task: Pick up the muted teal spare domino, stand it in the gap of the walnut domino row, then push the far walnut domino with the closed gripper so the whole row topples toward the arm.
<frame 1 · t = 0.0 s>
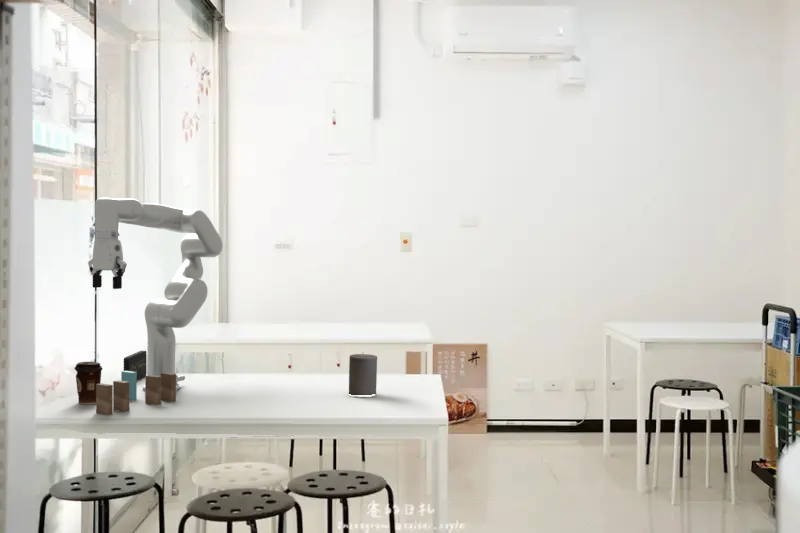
hand: (107, 288, 293), 37 cm above the table, tool pointing down, fingers open, 9 cm apart
domino far: (104, 413, 271), on the table
pillar candle: (362, 395, 308), on the table
spare domino: (128, 398, 296), on the table
domino 4: (153, 403, 288), on the table
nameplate: (135, 381, 332), on the table
coffee cup: (88, 403, 288), on the table
domino end: (168, 400, 293), on the table
domino 2: (121, 410, 277), on the table
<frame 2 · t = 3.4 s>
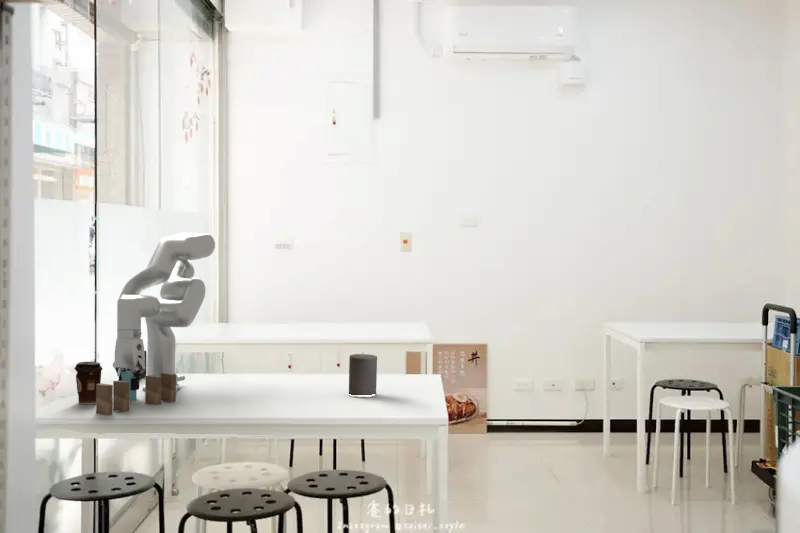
hand: (128, 388, 296), 3 cm above the table, tool pointing down, fingers closed on spare domino, 4 cm apart
spare domino: (128, 398, 296), on the table, touching gripper
everything else where it was.
when the fingers open (4 cm above the table, at t = 10.2 s): spare domino stays where it is, on the table.
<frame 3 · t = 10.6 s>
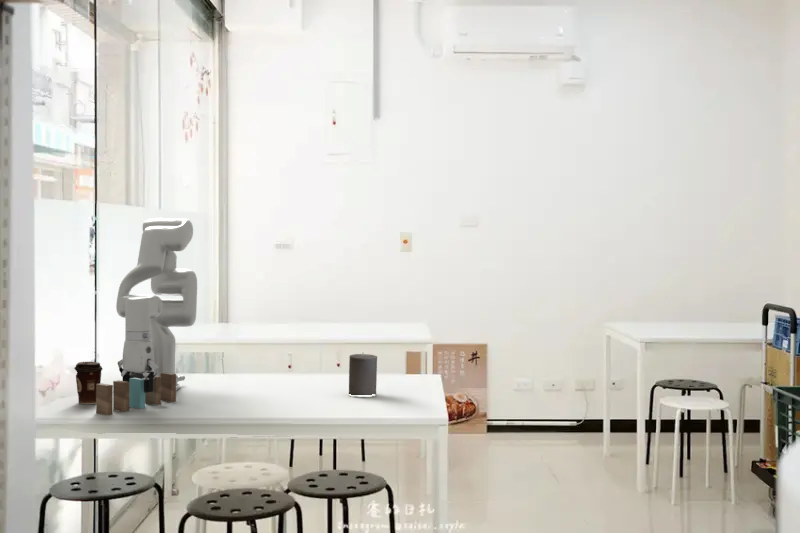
hand: (137, 390, 282), 5 cm above the table, tool pointing down, fingers open, 9 cm apart
spare domino: (137, 407, 282), on the table
everything else where it was.
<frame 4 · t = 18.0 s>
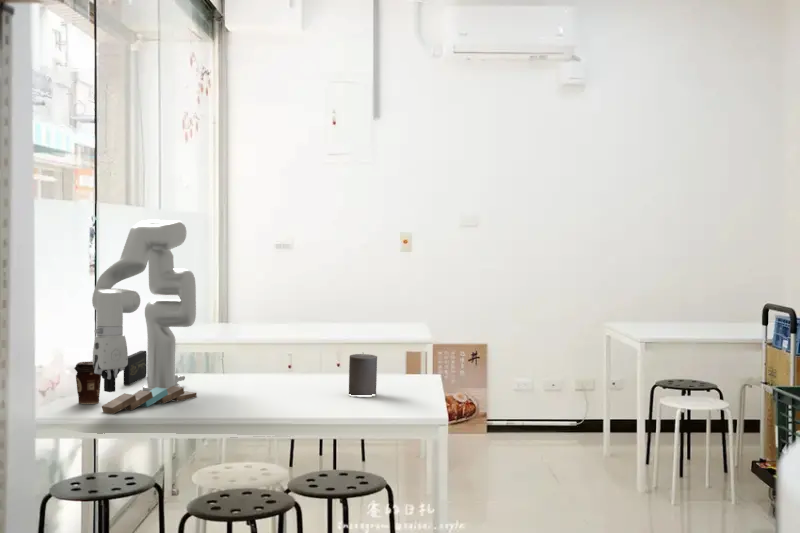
hand: (109, 391, 273), 7 cm above the table, tool pointing down, fingers closed
domino far: (107, 409, 272), point 1 cm above the table, tilted 73°, touching domino 2
spare domino: (141, 403, 284), point 1 cm above the table, tilted 72°, touching domino 2, domino 4
domino 4: (157, 399, 289), point 1 cm above the table, tilted 76°, touching spare domino
domino end: (171, 398, 294), on the table, tilted 90°
domino 2: (125, 406, 278), point 1 cm above the table, tilted 72°, touching domino far, spare domino
everything else where it was.
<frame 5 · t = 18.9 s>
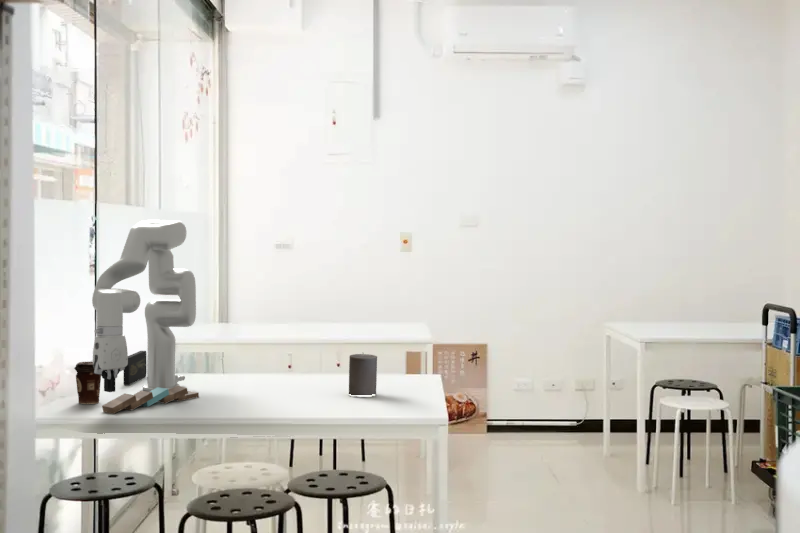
hand: (109, 391, 273), 7 cm above the table, tool pointing down, fingers closed
domino far: (107, 409, 272), point 1 cm above the table, tilted 73°
spare domino: (142, 402, 284), point 1 cm above the table, tilted 72°, touching domino 2
domino 4: (160, 399, 290), point 1 cm above the table, tilted 76°, touching domino end
domino end: (172, 398, 295), on the table, tilted 90°, touching domino 4
domino 2: (125, 406, 278), point 1 cm above the table, tilted 73°, touching spare domino
everything else where it was.
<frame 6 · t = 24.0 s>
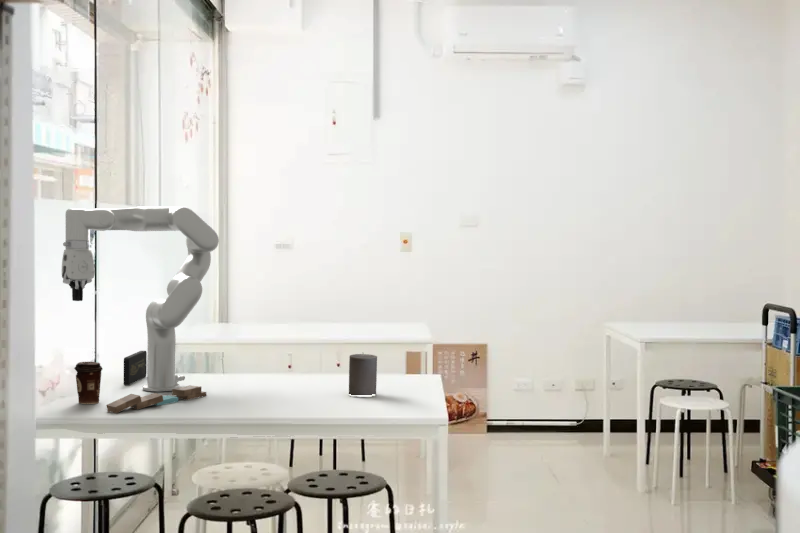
hand: (77, 300, 298), 32 cm above the table, tool pointing down, fingers closed
domino far: (111, 409, 274), point 1 cm above the table, tilted 74°, touching domino 2
spare domino: (151, 403, 286), on the table, tilted 90°
domino 4: (178, 392, 295), point 2 cm above the table, tilted 90°, touching domino end
domino end: (181, 398, 297), on the table, tilted 90°, touching domino 4
domino 2: (133, 405, 280), point 1 cm above the table, tilted 80°, touching domino far
everything else where it was.
at the end: domino end tilted 90°; spare domino tilted 90° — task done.
